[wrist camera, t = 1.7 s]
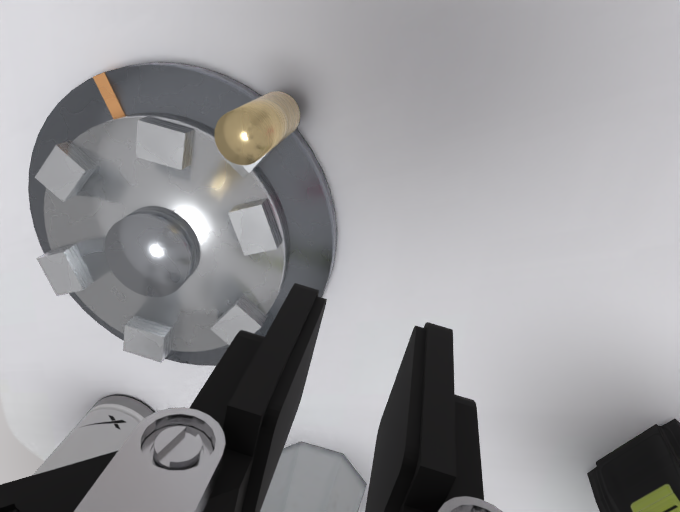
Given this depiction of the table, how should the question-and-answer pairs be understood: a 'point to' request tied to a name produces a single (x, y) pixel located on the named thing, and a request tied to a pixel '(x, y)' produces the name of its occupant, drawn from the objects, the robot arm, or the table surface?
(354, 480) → the coffee maker
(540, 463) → the table surface
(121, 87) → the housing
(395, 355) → the table surface
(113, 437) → the travel mug
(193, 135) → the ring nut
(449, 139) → the table surface
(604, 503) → the cordless drill
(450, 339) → the robot arm
